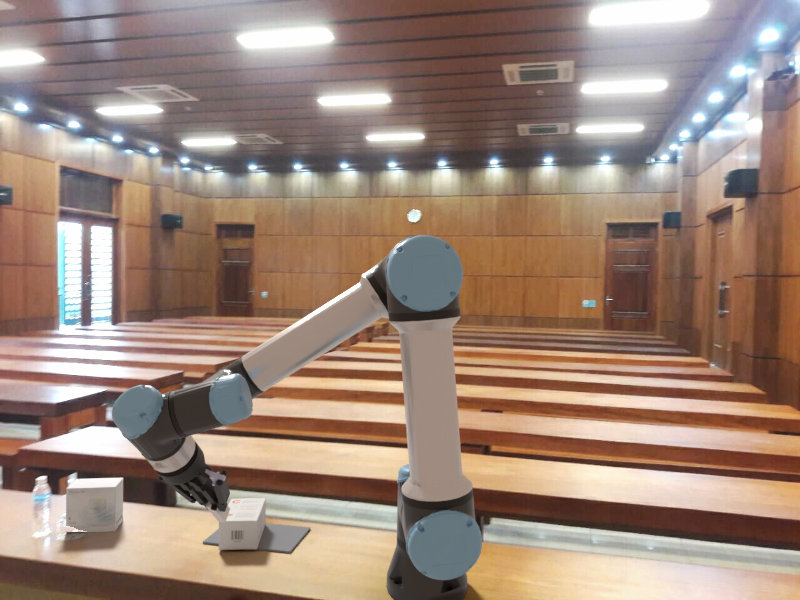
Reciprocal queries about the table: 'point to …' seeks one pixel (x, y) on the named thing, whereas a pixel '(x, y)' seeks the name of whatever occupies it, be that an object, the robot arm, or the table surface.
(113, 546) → the table surface
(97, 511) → the skincare box
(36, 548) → the table surface
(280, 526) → the mat
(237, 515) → the small box
